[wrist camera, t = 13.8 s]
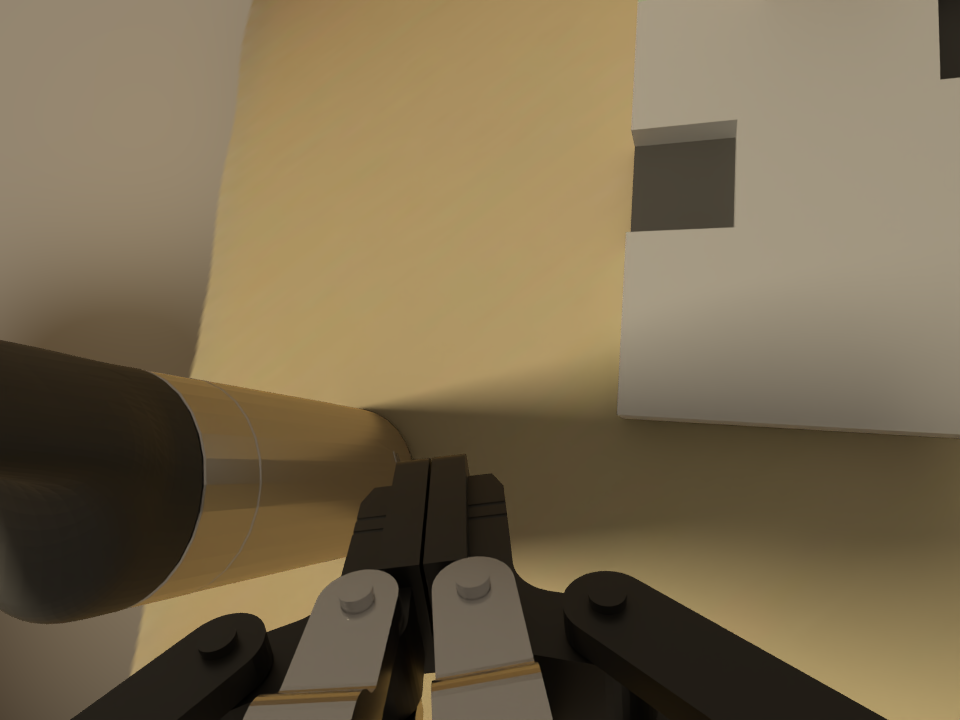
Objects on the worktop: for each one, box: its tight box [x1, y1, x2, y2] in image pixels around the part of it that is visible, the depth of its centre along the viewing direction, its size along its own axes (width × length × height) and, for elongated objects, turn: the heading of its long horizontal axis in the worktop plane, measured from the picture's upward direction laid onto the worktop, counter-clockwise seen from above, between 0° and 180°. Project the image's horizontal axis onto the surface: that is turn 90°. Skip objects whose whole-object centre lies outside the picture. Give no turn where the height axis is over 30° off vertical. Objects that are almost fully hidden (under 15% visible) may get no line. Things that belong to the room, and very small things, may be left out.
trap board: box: [617, 0, 960, 439], centre depth 31 cm, size 20×31×4 cm, turn 175°
